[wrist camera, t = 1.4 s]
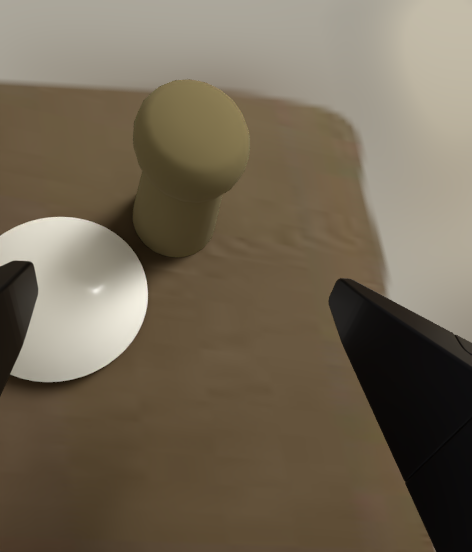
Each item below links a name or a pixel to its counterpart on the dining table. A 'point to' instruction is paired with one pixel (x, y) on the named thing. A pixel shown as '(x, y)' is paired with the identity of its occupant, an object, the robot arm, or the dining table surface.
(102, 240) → the coaster
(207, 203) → the cork
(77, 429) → the dining table surface
